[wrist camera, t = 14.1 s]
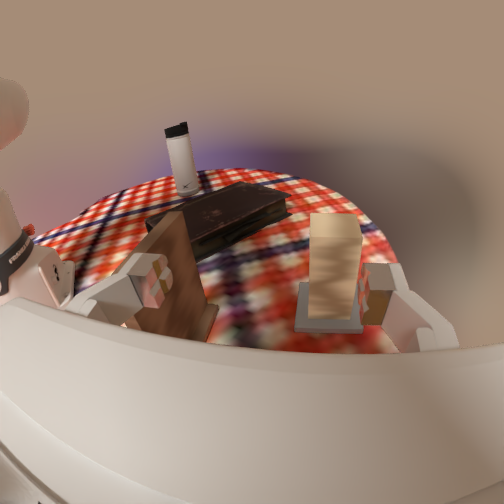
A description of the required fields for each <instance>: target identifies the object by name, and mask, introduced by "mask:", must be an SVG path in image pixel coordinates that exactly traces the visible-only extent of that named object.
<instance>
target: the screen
mask: <svg viewBox="0 0 504 504" xmlns="http://www.w3.org/2000/svg"><path fill="white" fill-rule="evenodd" d="M134 253H151V254H163V255H165V256H166V257H167V260H168V264H167V267H168V268H169V269H170V270H171V272H172V276H173V282H172V287H171V288H170V290H169V291H168V292H167V293H165V294H164V296H165V299H164V301H163V302H162V304H161V306H160V308H150V307H143V308H142V309H141V310H139V311H138V312H137V313H135V314H134V315H133V316H132V317H130V318H129V319H128V320H127V321H125V324H126V326H127V328H131V329H135V330H140V331H144V332H149V333H154V334H159V335H165V336H170V337H175V338H181V339H187V340H193V341H200V342H206V339H207V337H208V334H209V332H210V330H211V327H212V325H213V322H214V320H215V317H216V315H217V312H218V310H219V308H218V305H215V304H207V300H206V297H205V294H204V290H203V287H202V283H201V280H200V276H199V273H198V269H197V266H196V262H195V258H194V255H193V251H192V247H191V243H190V239H189V236H188V232H187V228H186V224H185V220H184V216H183V211H174V212H169V213H168V214H167V215H166V216H165V217H164V218H163V219H162V220H161V221H160V222H159V223H158V224H157V225H156V226H155V227H154V228H153V229H152V230H151V231H150V232H149V233H148V234H147V235H146V237H145V238H144V239H143V240H142V241H141V242H140V243H139V244H138V245H137V246H136V247H135V248H134V250H133V251H132V252H131V253H130V254H129V255H128V256H127V257H126V259H125V260H124V261H123V262H122V263H121V264H120V265H119V266H118V268H117V269H116V270H115V271H114V272H113V273H112V275H113V274H117V273H118V272H119V271H120V270H121V268H122V267H123V266H124V265H125V264H126V262H127V261H128V260H129V259H130V258H131V256H132V255H133V254H134Z"/></svg>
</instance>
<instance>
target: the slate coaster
mask: <svg viewBox="0 0 504 504" xmlns="http://www.w3.org/2000/svg"><path fill="white" fill-rule="evenodd" d="M357 293H358V284H356V290H355V295H354V301H353V307H352V312H351V317H350V320H344V319H308V304H309V283H304V282H300V284H299V293H298V302H297V310H296V318H295V326H294V332H306V333H339V334H362V333H363V330H364V329H363V325H361V324H360V315H359V310H360V305H359V304H358V296H357Z"/></svg>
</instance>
